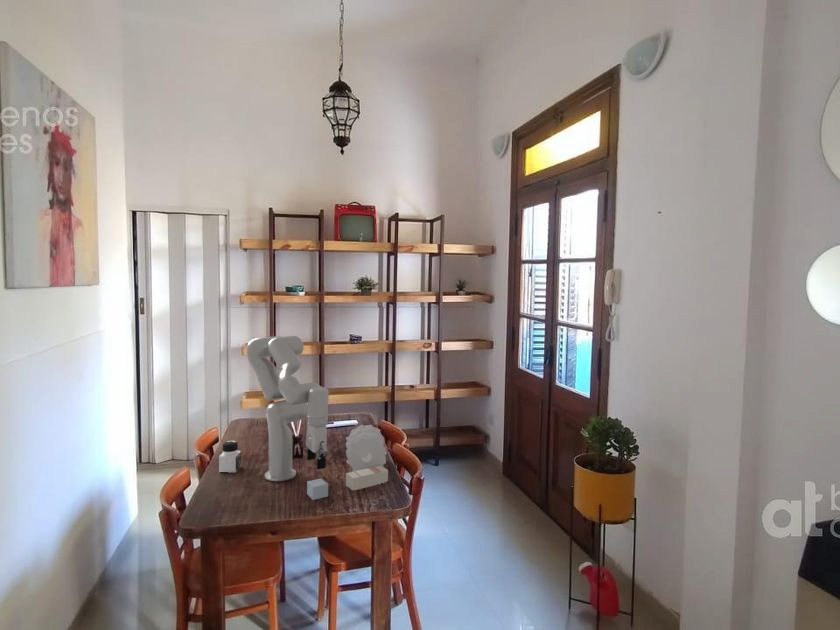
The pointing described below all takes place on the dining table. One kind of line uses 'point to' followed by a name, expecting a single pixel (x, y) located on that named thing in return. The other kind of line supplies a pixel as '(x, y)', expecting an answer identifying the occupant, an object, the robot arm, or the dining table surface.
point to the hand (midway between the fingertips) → (316, 463)
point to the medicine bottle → (230, 457)
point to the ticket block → (366, 477)
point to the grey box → (317, 489)
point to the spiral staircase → (365, 448)
